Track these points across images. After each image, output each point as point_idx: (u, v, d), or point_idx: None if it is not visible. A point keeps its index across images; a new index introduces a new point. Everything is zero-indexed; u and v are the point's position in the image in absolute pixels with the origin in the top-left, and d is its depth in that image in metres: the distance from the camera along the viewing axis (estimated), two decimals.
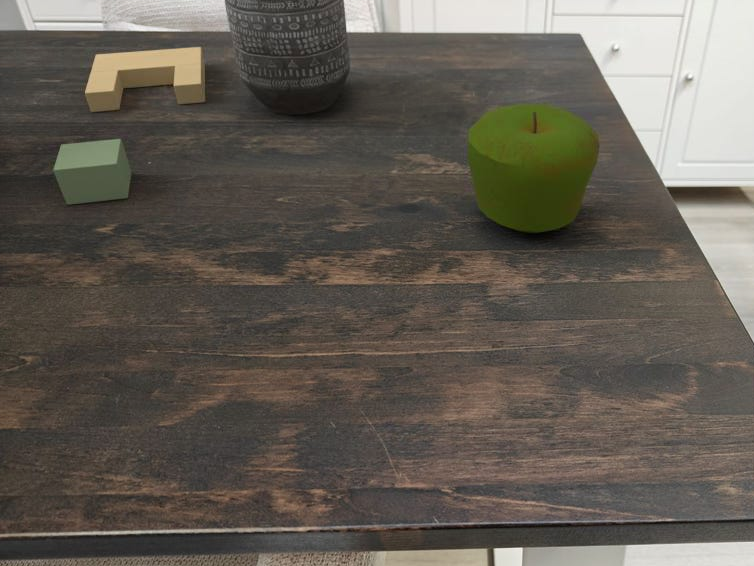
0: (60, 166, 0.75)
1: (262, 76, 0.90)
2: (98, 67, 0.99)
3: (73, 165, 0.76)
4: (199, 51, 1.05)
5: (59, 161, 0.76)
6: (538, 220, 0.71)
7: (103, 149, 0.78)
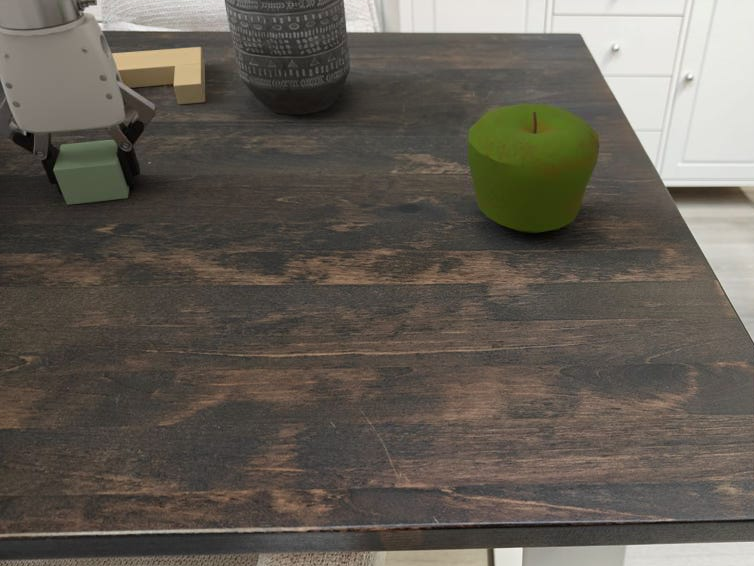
0: (60, 166, 0.75)
1: (262, 76, 0.90)
2: None
3: (73, 165, 0.76)
4: (199, 51, 1.05)
5: (59, 161, 0.76)
6: (538, 220, 0.71)
7: (103, 149, 0.78)
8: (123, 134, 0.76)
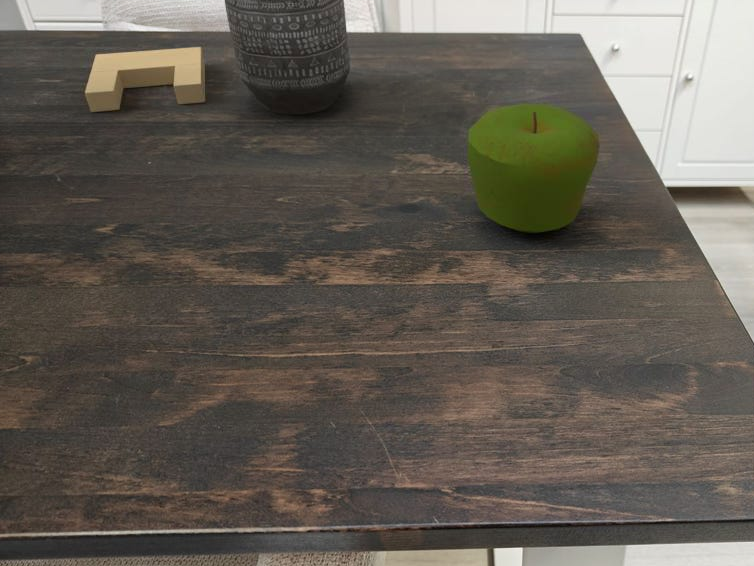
0: None
1: (262, 76, 0.90)
2: (98, 67, 0.99)
3: None
4: (199, 51, 1.05)
5: None
6: (538, 220, 0.71)
7: None
8: None
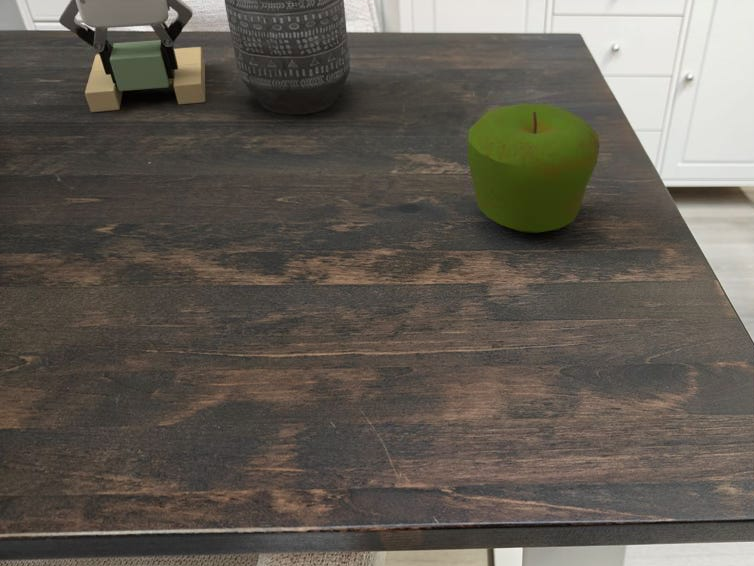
0: (115, 57, 0.92)
1: (262, 76, 0.90)
2: (98, 67, 0.99)
3: (125, 56, 0.93)
4: (199, 51, 1.05)
5: (113, 54, 0.93)
6: (538, 220, 0.71)
7: (149, 46, 0.95)
8: (166, 32, 0.93)
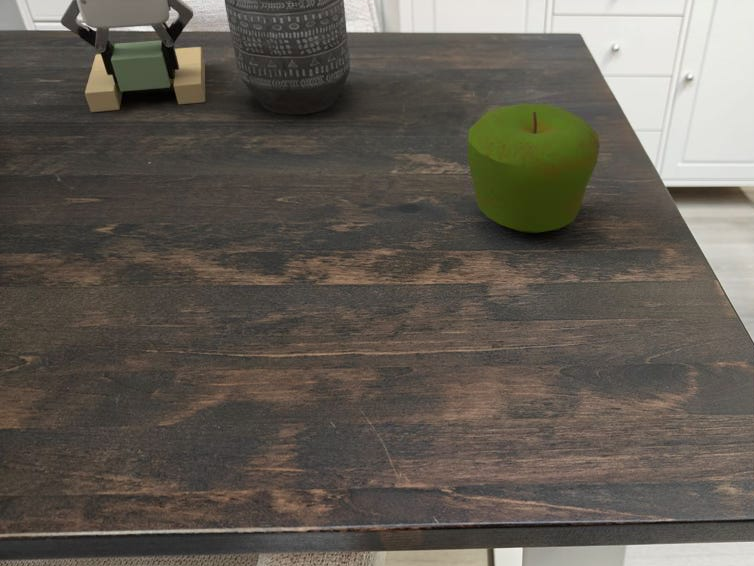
0: (116, 57, 0.92)
1: (262, 76, 0.90)
2: (98, 67, 0.99)
3: (126, 57, 0.93)
4: (199, 51, 1.05)
5: (115, 54, 0.93)
6: (538, 220, 0.71)
7: (150, 47, 0.95)
8: (167, 32, 0.93)
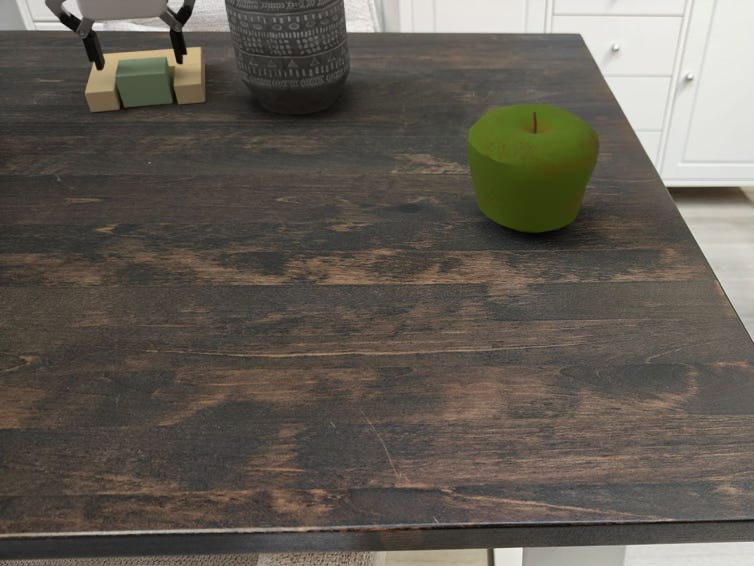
0: (120, 74, 0.94)
1: (262, 76, 0.90)
2: None
3: (130, 73, 0.94)
4: (199, 51, 1.05)
5: (119, 71, 0.95)
6: (538, 220, 0.71)
7: (153, 63, 0.97)
8: (172, 16, 0.92)
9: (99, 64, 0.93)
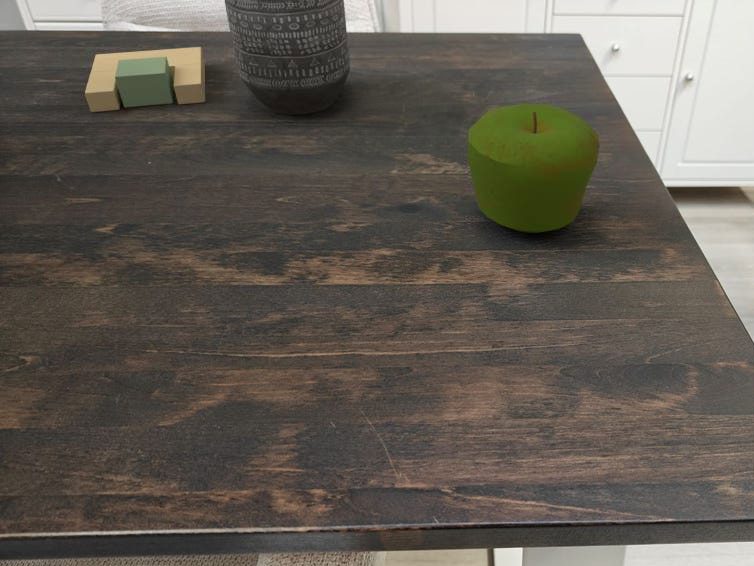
0: (120, 74, 0.94)
1: (262, 76, 0.90)
2: (98, 67, 0.99)
3: (130, 73, 0.94)
4: (199, 51, 1.05)
5: (119, 71, 0.95)
6: (538, 220, 0.71)
7: (153, 63, 0.97)
8: None
9: None
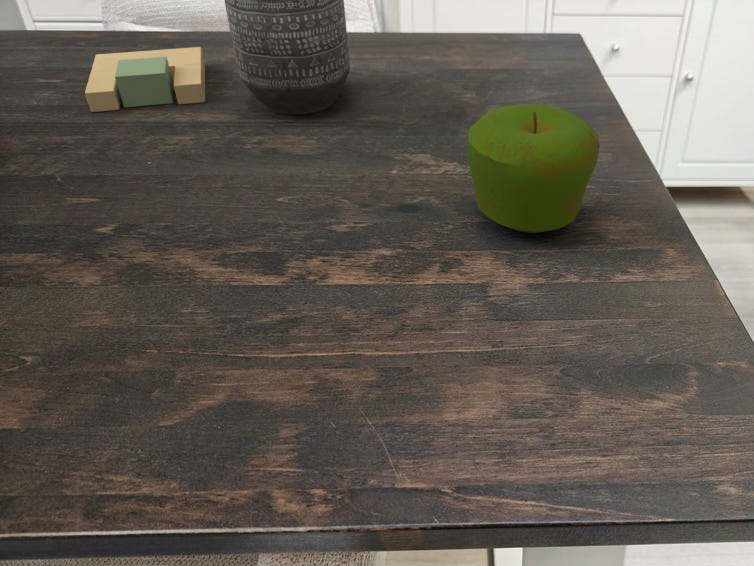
0: (120, 74, 0.94)
1: (262, 76, 0.90)
2: (98, 67, 0.99)
3: (130, 73, 0.94)
4: (199, 51, 1.05)
5: (119, 71, 0.95)
6: (538, 220, 0.71)
7: (153, 63, 0.97)
8: None
9: None
